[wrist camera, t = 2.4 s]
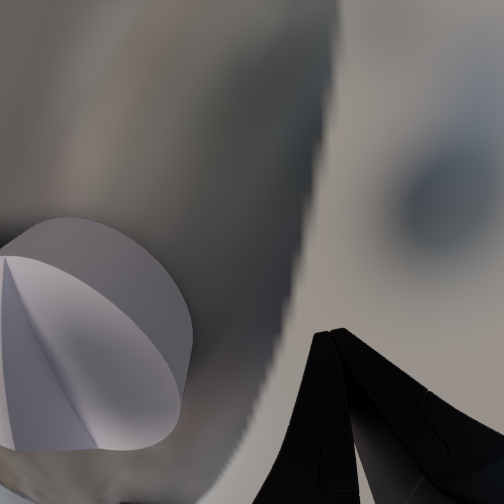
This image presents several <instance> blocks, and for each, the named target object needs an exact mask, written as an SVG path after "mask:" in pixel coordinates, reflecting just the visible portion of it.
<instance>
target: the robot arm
mask: <svg viewBox="0 0 504 504" xmlns="http://www.w3.org/2000/svg"><path fill="white" fill-rule="evenodd" d="M289 424H290V425H289V426H288V428H287V432H286V435H285V438H284V441H283V443H282V446H281V449H280V451H279V454H278V456H277V458H276V460H275V462H274V464H273V466H272V469H271V471H270V473H269V474H268V476H267V478H266V480H265V482H264V483H263V485H262V487H261V489H260V491H259V492H258V494H257V496H256V498H255V499H254V501H253V503H252V504H360V496H359V484H358V475H357V465H356V456H355V448H354V443H355V446H356V449H357V452H358V454H359V457H360V460H361V463H362V466H363V469H364V472H365V475H366V478H367V480H368V484H369V487H370V490H371V493H372V495H373V499H374V502H375V504H504V435H502V434H500V433H499V432H497V431H495V430H493V429H491V428H489V427H487V426H485V425H484V424H482V423H480V422H478V421H476V420H475V419H473V418H471V417H469V416H467V415H466V414H464V413H462V412H460V411H459V410H457V409H455V408H454V407H452V406H451V405H450V404H448V403H447V402H445V401H443V400H442V399H441V398H439V397H438V396H437V395H435V394H434V393H433V392H431V391H428V389H427V388H425V387H424V386H423V385H421V384H420V383H419V382H417V381H416V380H415V379H413V378H412V377H410V376H409V375H408V374H406V373H405V372H404V371H402V370H400V368H398V367H397V366H395V365H394V364H393V363H391V362H390V361H388V360H387V359H386V358H385V357H383V356H382V355H380V354H379V353H378V352H376V351H375V350H374V349H372V348H371V347H370V346H368V345H367V344H366V343H364V342H363V341H362V340H360V339H359V338H358V337H356V336H355V335H353V334H352V333H351V332H349V331H348V330H347V329H345V328H339V329H334V330H331V331H330V332H328V331H323V332H318V333H315V334H314V336H313V340H312V344H311V347H310V351H309V356H308V359H307V363H306V367H305V370H304V374H303V378H302V382H301V385H300V389H299V392H298V396H297V399H296V402H295V406H294V409H293V413H292V416H291V419H290V423H289Z"/></svg>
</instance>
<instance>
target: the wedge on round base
mask: <svg viewBox="0 0 504 504" xmlns="http://www.w3.org/2000/svg"><path fill="white" fill-rule="evenodd" d="M192 345H193V328H192V322H191V317H190V314H189V311H188V308H187V305H186V302H185V300H184V298H183V296H182V294H181V292H180V290H179V288H178V287H177V285H176V284H175V282H174V281H173V279H172V278H171V276H170V275H169V274H168V272H167V271H166V270H165V269H164V268H163V266H162V265H161V264H160V263H159V262H158V261H157V260H156V259H155V258H154V257H153V256H152V255H151V254H150V253H149V252H148V251H147V250H146V249H144V248H143V247H142V246H140V245H139V244H138V243H137V242H135V241H134V240H133V239H131V238H129V237H128V236H126V235H124V234H123V233H121V232H119V231H118V230H116V229H113V228H111V227H109V226H106V225H104V224H102V223H99V222H95V221H92V220H88V219H82V218H75V217H59V218H54V219H49V220H45V221H43V222H41V223H38V224H36V225H34V226H33V227H31V228H30V229H28V230H27V231H25V232H24V233H22V234H21V235H19V236H18V237H16V238H15V239H14V240H12V241H11V242H9V243H8V244H6V245H5V246H4V247H2V248H1V249H0V445H2V446H4V447H6V448H9V449H11V450H14V451H68V450H84V449H96V448H101V449H108V450H122V451H123V450H136V449H141V448H146V447H149V446H152V445H154V444H156V443H158V442H160V441H162V440H163V439H165V438H166V437H167V436H168V435H169V434H170V433H171V432H172V431H173V429H174V428H175V426H176V424H177V422H178V419H179V416H180V410H181V404H182V399H183V394H184V388H185V383H186V377H187V372H188V367H189V362H190V357H191V351H192Z"/></svg>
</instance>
